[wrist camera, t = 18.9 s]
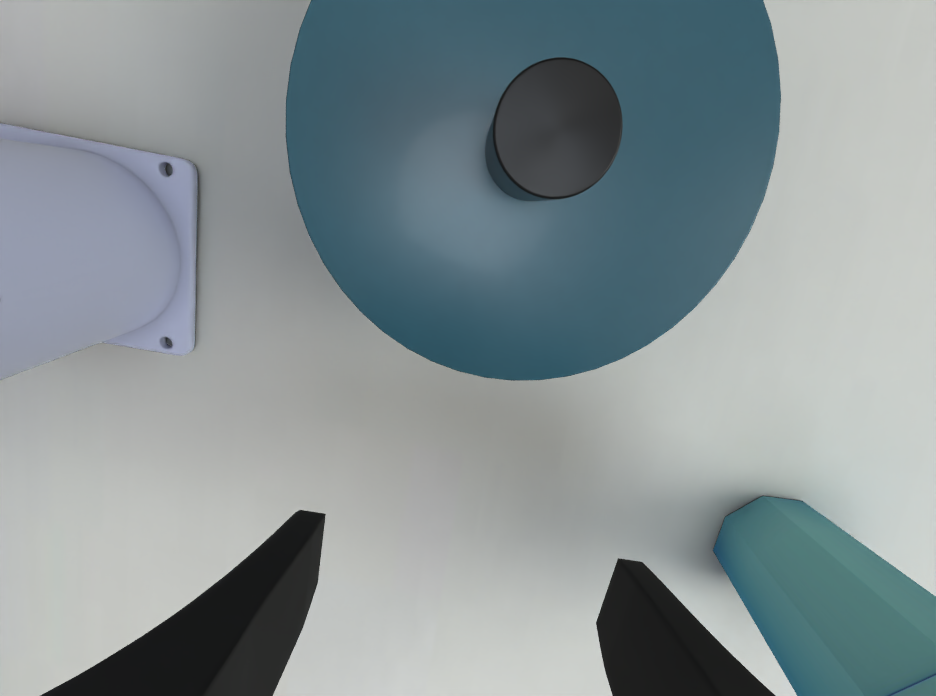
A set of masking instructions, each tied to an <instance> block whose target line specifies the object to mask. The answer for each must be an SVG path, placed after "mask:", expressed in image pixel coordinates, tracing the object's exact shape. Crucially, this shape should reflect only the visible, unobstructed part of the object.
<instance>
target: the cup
mask: <svg viewBox="0 0 936 696" xmlns="http://www.w3.org/2000/svg"><path fill="white" fill-rule="evenodd" d="M713 551H714V553H715V555H716V557H717V558H718V560H719V562H720V563H721V565H722V567H723V569H724V570H725V572H726V574H727V575H728V577H729V579H730V581H731V582H732V584H733V586H734V587H735V589H736V591H737V593H738V594H739V596H740V598H741V600H742V601H743V603H744V605H745V606H746V608H747V610H748V612H749V613H750V615H751V617H752V618H753V620H754V622H755V624H756V625H757V627H758V629H759V630H760V632H761V634H762V636H763V637H764V639H765V641H766V642H767V644H768V646H769V648H770V649H771V651H772V653H773V655H774V656H775V658H776V660H777V661H778V663H779V665H780V667H781V668H782V670H783V672H784V673H785V675H786V677H787V679H788V680H789V682H790V684H791V685H792V687H793V689H794V691H795V692H796V694H797V696H936V597H935V596H934V595H933V594H931V593H930V592H928V591H927V590H926V589H924V588H923V587H921V586H920V585H919V584H917V583H916V582H914V581H913V580H912V579H910V578H909V577H907V576H906V575H905V574H903V573H902V572H901V571H899V570H898V569H896V568H895V567H894V566H892V565H891V564H889V563H888V562H887V561H885V560H884V559H882V558H881V557H880V556H878V555H877V554H875V553H874V552H873V551H871V550H870V549H868V548H867V547H866V546H864V545H863V544H861V543H860V542H859V541H857V540H856V539H854V538H853V537H852V536H850V535H849V534H848V533H846V532H845V531H843V530H842V529H841V528H839V527H838V526H836V525H835V524H834V523H832V522H831V521H829V520H828V519H827V518H825V517H824V516H822V515H821V514H820V513H818V512H817V511H815V510H814V509H813V508H811V507H810V506H808V505H807V504H806V503H804V502H803V501H798V500H791V499H783V498H776V497H768V496H761V497H760V498H758V499H756V500H754V501H753V502H751V503H749V504H747V505H746V506H744V507H742V508H740V509H738V510H737V511H735V512H733V513H731V514H730V515H728V516H726V517H725V519H724V522H723V525H722V527H721V530H720V533H719V535H718V538H717V541H716V543H715V546H714V549H713Z"/></svg>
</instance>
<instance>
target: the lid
mask: <svg viewBox="0 0 936 696" xmlns="http://www.w3.org/2000/svg"><path fill="white" fill-rule="evenodd" d="M780 103H781V91H780V77H779V64H778V56H777V51H776V46H775V41H774V36H773V31H772V26H771V22H770V19H769V17H768V14H767V11H766V8H765V5H764V2H763V0H311V2H310V5H309V7H308V10H307V12H306V15H305V17H304V20H303V22H302V25H301V27H300V30H299V34H298V38H297V42H296V46H295V50H294V54H293V58H292V62H291V66H290V74H289V82H288V90H287V97H286V143H287V151H288V160H289V169H290V174H291V179H292V183H293V187H294V191H295V195H296V199H297V204H298V207H299V209H300V212H301V215H302V217H303V220H304V223H305V226H306V228H307V231H308V234H309V236H310V238H311V240H312V242H313V244H314V246H315V248H316V250H317V252H318V253H319V255H320V257H321V259H322V261H323V263H324V265H325V266H326V268H327V269H328V271H329V272H330V274H331V275H332V277H333V278H334V280H335V281H336V282H337V284H338V285H339V287H340V288H341V290H342V291H343V292H344V293H345V294H346V295H347V297H348V298H349V299H350V300H351V301H352V302H353V303H354V305H355V306H356V307H357V308H358V309H359V310H360V311H361V312H362V313H363V314H364V315H365V316H366V317H367V318H368V319H369V320H370V321H372V322H373V323H374V324H375V325H376V326H377V327H378V328H379V329H381V330H382V331H383V332H384V333H386V334H387V335H389V336H390V337H391V338H393V339H394V340H396V341H397V342H399V343H400V344H401V345H403V346H404V347H406V348H407V349H409V350H411V351H413V352H415V353H417V354H419V355H421V356H423V357H425V358H427V359H428V360H430V361H433V362H435V363H438V364H441V365H443V366H446V367H449V368H451V369H454V370H457V371H460V372H464V373H469V374H473V375H477V376H481V377H486V378H495V379H504V380H544V379H551V378H559V377H566V376H571V375H574V374H578V373H582V372H586V371H590V370H594V369H597V368H599V367H602V366H604V365H607V364H609V363H612V362H615V361H617V360H620V359H622V358H624V357H626V356H628V355H630V354H631V353H633V352H635V351H637V350H639V349H641V348H643V347H644V346H646V345H648V344H649V343H651V342H652V341H654V340H655V339H657V338H658V337H660V336H661V335H662V334H664V333H665V332H667V331H668V330H670V329H671V328H672V327H674V326H675V325H676V324H677V323H678V322H679V321H680V320H682V319H683V318H684V317H685V316H686V315H687V314H688V313H689V312H691V311H692V310H693V309H694V308H695V307H696V306H697V305H698V304H699V303H700V302H701V300H702V299H703V298H704V297H705V296H706V295H707V294H708V293H709V292H710V290H711V289H712V288H713V287H714V286H715V285H716V284H717V282H718V281H719V280H720V278H721V277H722V275H723V274H724V273H725V271H726V270H727V268H728V267H729V266H730V264H731V263H732V261H733V260H734V259H735V257H736V255H737V253H738V252H739V250H740V248H741V246H742V244H743V243H744V241H745V239H746V237H747V235H748V234H749V232H750V230H751V228H752V225H753V223H754V221H755V218H756V216H757V214H758V211H759V209H760V206H761V204H762V202H763V199H764V196H765V193H766V189H767V186H768V182H769V179H770V175H771V172H772V168H773V164H774V158H775V153H776V147H777V141H778V135H779V123H780Z"/></svg>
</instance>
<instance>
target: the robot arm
mask: <svg viewBox="0 0 936 696" xmlns="http://www.w3.org/2000/svg"><path fill="white" fill-rule="evenodd" d="M168 163H170V165H171V166H172V168H173V173H172V175H170V176H169V175H168V174H167V173H166V170H165V167H166V165H167V164H168ZM197 184H198V174H197V169H196V167H195V166H194V164H193V163H192V162H190V161H189V160H186V159H183V158H178V157H173V156H168V155H163V154H157V153H152V152H147V151H142V150H137V149H132V148H127V147H121V146H116V145H111V144H106V143H101V142H96V141H91V140H86V139H80V138H75V137H70V136H65V135H60V134H55V133H50V132H45V131H39V130H34V129H29V128H24V127H19V126H14V125H9V124H4V123H0V380H2V379H4V378H7V377H10V376H12V375H15V374H18V373H20V372H23V371H26V370H28V369H31V368H34V367H36V366H39V365H42V364H44V363H47V362H50V361H52V360H55V359H58V358H60V357H63V356H66V355H68V354H71V353H74V352H76V351H79V350H82V349H85V348H87V347H90V346H93V345H95V344H98V343H101V342H102V343H108V344H114V345H120V346H126V347H131V348H137V349H143V350H149V351H155V352H161V353H167V354H173V355H179V356H182V355H186V354H188V353H190V352H191V351H192V350H193V349H194V346H195V301H196V243H197ZM166 337H168V338H170V339H171V340H172V343H173V344H172V346H170V345H168V344H167V342H166ZM324 523H325V514H323V513H316V512H310V511H303V510H299V511H298V512H296V513H294V514H293V515H292V516H291V517H290V518H289V519H288V520H287V521H286V522H285V523H284V524H283V525H282V526H281V527H280V528H279V529H278V530H277V531H276V532H275V533H274V534H273V535H272V536H270V537H269V538H268V539H267V540H266V541H265V542H264V543H263V544H262V545H261V546H259V547H258V548H257V549H256V550H255V551H254V552H253V553H251V554H250V555H249V556H248V557H247V558H246V559H244V560H243V561H242V562H241V563H240V564H239V565H238V566H236V567H235V568H234V569H233V570H232V571H230V572H229V573H228V574H227V575H226V576H224V577H223V578H222V579H220V580H219V581H218V582H217V583H215V584H214V585H213V586H211V587H210V588H209V589H208V590H206V591H205V592H204V593H203V594H201V595H200V596H199V597H197V598H196V599H195V600H193V601H192V602H191V603H189V604H188V605H187V606H185V607H184V608H183V609H181V610H180V611H178V612H177V613H176V614H174V615H173V616H171V617H170V618H168V619H167V620H166V621H164V622H163V623H161V624H160V625H158V626H157V627H155V628H154V629H152V630H151V631H149V632H148V633H146V634H145V635H143V636H142V637H140V638H139V639H137V640H135V641H134V642H132V643H131V644H129V645H127V646H126V647H124V648H123V649H121V650H119V651H118V652H116V653H115V654H113V655H111V656H110V657H108V658H106V659H105V660H103V661H101V662H100V663H98V664H96V665H95V666H93V667H91V668H90V669H88V670H86V671H85V672H83V673H81V674H79V675H78V676H76V677H74V678H72V679H70V680H68V681H67V682H65V683H63V684H61V685H59V686H57V687H55V688H54V689H52V690H50V691H48V692H46V693H44V694H42V695H41V696H273V693H274V691H275V689H276V687H277V685H278V682H279V680H280V678H281V676H282V673H283V671H284V669H285V667H286V664H287V662H288V660H289V658H290V655H291V653H292V651H293V649H294V646H295V644H296V642H297V640H298V637H299V635H300V633H301V631H302V628H303V626H304V623H305V620H306V617H307V614H308V611H309V608H310V605H311V602H312V599H313V596H314V592H315V589H316V586H317V583H318V575H319V566H320V557H321V549H322V540H323V531H324ZM596 625H597V630H598V636H599V642H600V648H601V653H602V658H603V662H604V667H605V671H606V675H607V678H608V681H609V685H610V688H611V691H612V694H613V696H775V695H774V694H773V693H772V692H771V691H770V690H769V689H767V688H766V687H765V686H764V685H763V684H762V683H761V682H760V681H759V680H758V679H757V678H756V677H755V676H753V675H752V674H751V673H750V672H749V671H748V670H747V669H746V668H745V667H744V666H743V665H742V664H741V663H740V662H739V661H738V660H737V659H736V658H735V657H734V656H733V655H732V654H731V653H730V652H729V651H728V650H727V649H726V648H725V647H724V646H723V645H722V644H721V643H720V642H719V641H718V640H717V639H716V638H715V637H714V636H713V635H712V634H711V633H710V632H709V631H708V630H707V629H706V628H705V627H704V626H703V625H702V624H701V623H700V622H699V621H698V620H697V619H696V618H695V617H694V616H693V615H692V614H691V613H690V611H689V610H688V609H687V608H686V607H685V606H684V605H683V604H682V603H681V602H680V601H679V600H678V599H677V598H676V597H675V596H674V594H673V593H672V592H671V591H670V590H669V589H668V588H667V587H666V586H665V585H664V584H663V583H662V582H661V581H660V580H659V579H658V578H657V577H656V575H655V574H654V573H653V572H652V571H651V570H650V569H649V568H648V567H647V566H646V565H645V564H643V563H642V562H638V561H632V560H625V559H619V558H618V560H617V563H616V566H615V569H614V572H613V575H612V578H611V581H610V584H609V587H608V590H607V593H606V595H605V598H604V601H603V604H602V607H601V610H600V613H599V616H598V619H597V622H596Z"/></svg>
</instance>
